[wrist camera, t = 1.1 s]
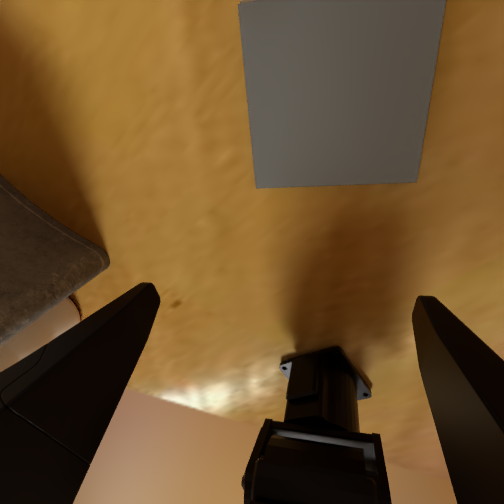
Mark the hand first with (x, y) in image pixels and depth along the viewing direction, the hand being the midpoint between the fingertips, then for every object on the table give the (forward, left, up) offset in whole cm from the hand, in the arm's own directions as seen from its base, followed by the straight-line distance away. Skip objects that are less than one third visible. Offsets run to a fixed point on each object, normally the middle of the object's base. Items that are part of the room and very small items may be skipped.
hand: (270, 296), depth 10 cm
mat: (+4, -5, -12) cm, 13 cm away
